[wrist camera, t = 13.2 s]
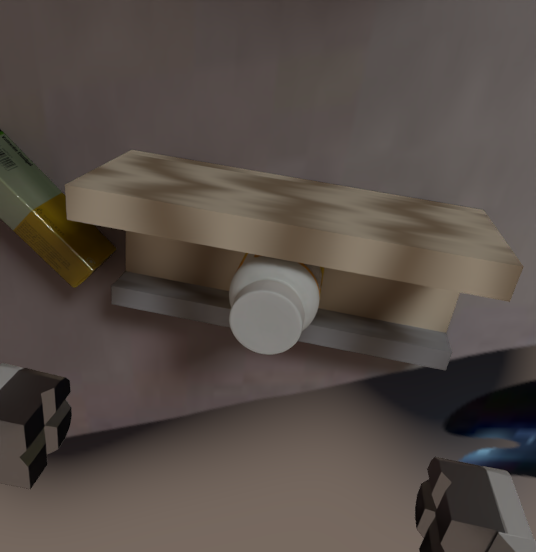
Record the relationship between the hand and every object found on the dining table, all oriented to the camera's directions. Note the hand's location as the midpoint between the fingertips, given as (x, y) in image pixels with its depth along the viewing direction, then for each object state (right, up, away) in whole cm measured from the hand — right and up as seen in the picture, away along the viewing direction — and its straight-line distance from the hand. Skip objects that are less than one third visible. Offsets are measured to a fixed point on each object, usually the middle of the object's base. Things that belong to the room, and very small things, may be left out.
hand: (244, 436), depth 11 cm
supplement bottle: (+2, +5, +24) cm, 25 cm away
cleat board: (+2, +5, +25) cm, 26 cm away
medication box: (-16, +9, +27) cm, 33 cm away
